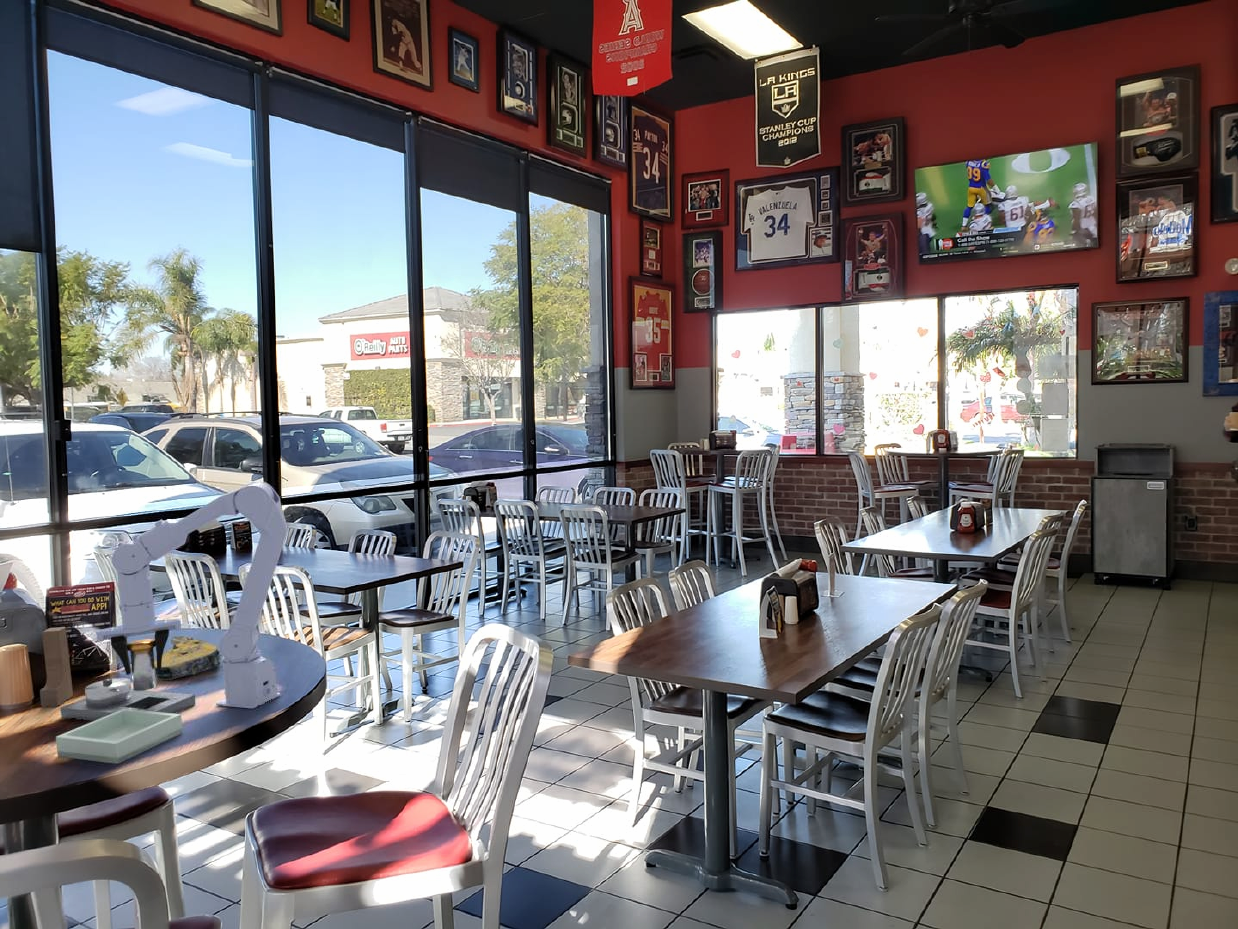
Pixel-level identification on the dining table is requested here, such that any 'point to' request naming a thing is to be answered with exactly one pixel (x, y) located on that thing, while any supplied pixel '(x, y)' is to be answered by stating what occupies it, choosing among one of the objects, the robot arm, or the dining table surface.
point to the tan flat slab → (187, 658)
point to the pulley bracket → (123, 700)
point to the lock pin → (142, 664)
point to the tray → (119, 735)
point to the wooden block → (56, 668)
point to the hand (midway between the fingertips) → (144, 671)
